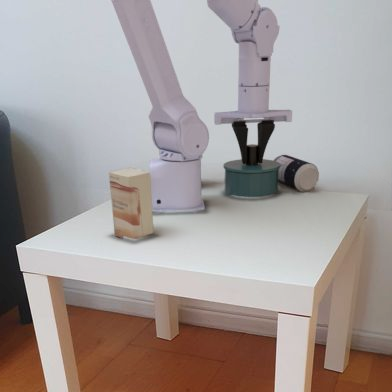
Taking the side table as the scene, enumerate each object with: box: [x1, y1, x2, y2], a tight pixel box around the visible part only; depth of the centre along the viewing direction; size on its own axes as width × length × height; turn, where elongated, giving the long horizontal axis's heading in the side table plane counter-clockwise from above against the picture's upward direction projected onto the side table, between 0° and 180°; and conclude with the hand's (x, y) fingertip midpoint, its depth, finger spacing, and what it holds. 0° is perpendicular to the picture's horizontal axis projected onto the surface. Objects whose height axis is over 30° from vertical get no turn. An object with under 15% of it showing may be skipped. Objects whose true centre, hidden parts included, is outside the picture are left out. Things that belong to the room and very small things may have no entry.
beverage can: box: [272, 154, 320, 194], centre depth 108 cm, size 6×6×12 cm
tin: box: [224, 169, 279, 198], centre depth 105 cm, size 10×10×5 cm
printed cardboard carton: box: [108, 166, 155, 240], centre depth 82 cm, size 5×4×10 cm
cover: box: [222, 143, 281, 173], centre depth 103 cm, size 11×11×5 cm
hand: (251, 162), depth 103 cm, fingers closed on cover, 2 cm apart
